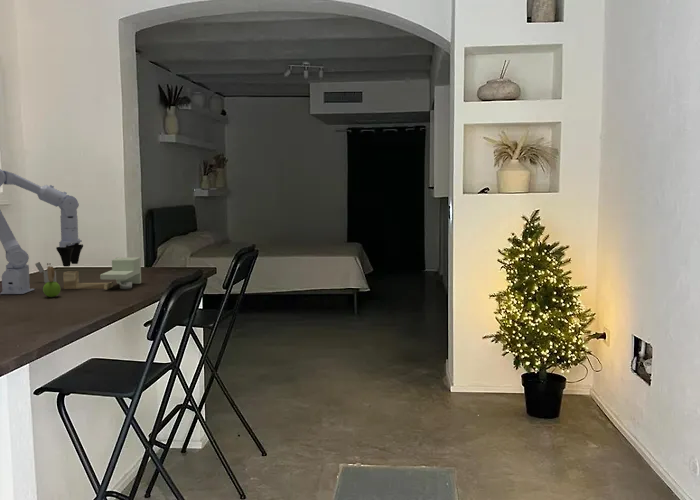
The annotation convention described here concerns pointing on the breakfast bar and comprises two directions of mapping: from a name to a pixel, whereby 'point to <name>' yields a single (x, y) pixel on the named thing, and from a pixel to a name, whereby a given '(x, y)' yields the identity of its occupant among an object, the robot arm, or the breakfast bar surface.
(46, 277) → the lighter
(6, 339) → the breakfast bar surface
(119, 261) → the pale chair
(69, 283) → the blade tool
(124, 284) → the token
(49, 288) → the green gourd
